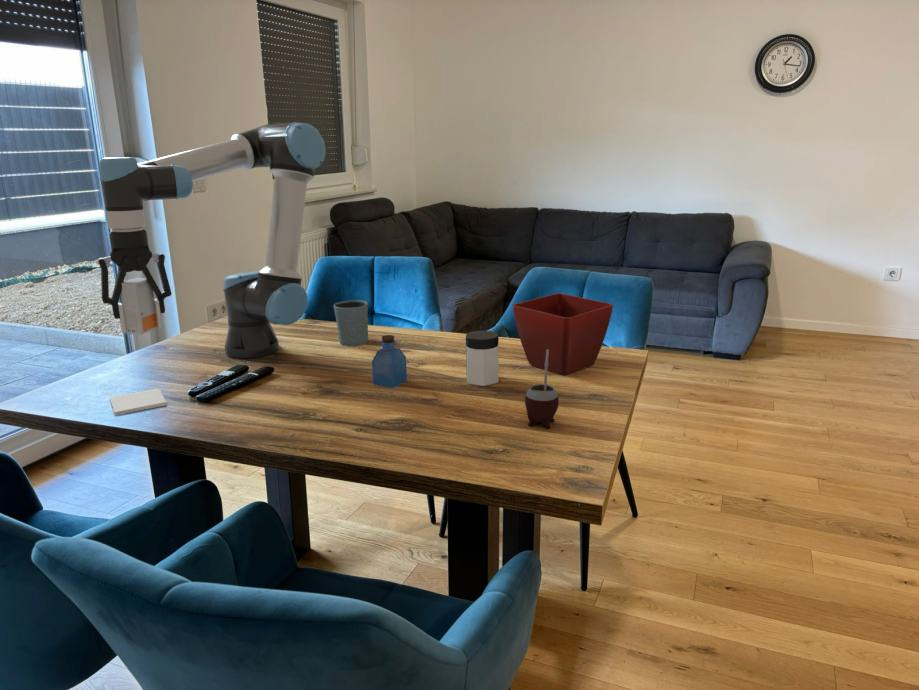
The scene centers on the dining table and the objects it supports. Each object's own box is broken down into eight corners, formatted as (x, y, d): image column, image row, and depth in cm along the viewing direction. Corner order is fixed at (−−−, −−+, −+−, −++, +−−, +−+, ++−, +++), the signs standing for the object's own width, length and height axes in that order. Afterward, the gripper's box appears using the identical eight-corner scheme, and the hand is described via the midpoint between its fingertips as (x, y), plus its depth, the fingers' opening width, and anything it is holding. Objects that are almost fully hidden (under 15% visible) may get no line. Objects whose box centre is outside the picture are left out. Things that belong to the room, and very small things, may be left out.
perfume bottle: (406, 379, 171) (405, 334, 167) (394, 387, 166) (392, 341, 162) (386, 376, 173) (383, 332, 170) (373, 384, 168) (370, 338, 165)
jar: (500, 386, 165) (500, 339, 162) (467, 387, 165) (466, 340, 162) (497, 373, 174) (497, 329, 170) (465, 374, 174) (465, 330, 170)
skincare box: (142, 335, 152) (135, 283, 149) (126, 334, 153) (118, 282, 149) (159, 328, 158) (152, 278, 154) (142, 327, 158) (135, 277, 155)
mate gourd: (535, 432, 139) (536, 364, 135) (517, 419, 146) (517, 353, 142) (565, 426, 142) (568, 359, 137) (546, 413, 149) (548, 348, 144)
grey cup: (367, 347, 199) (364, 307, 195) (333, 347, 199) (330, 308, 195) (372, 337, 208) (369, 299, 205) (339, 337, 208) (336, 300, 205)
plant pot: (565, 382, 167) (567, 317, 162) (510, 365, 181) (510, 304, 176) (611, 365, 179) (615, 304, 174) (557, 350, 193) (558, 292, 188)
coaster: (159, 391, 166) (159, 388, 166) (166, 405, 157) (166, 401, 157) (110, 400, 161) (109, 397, 160) (114, 415, 152) (114, 412, 151)
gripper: (172, 225, 157) (184, 320, 163) (75, 230, 147) (92, 332, 153) (178, 228, 151) (190, 326, 157) (77, 234, 140) (95, 339, 147)
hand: (142, 329), depth 155 cm, fingers closed on skincare box, 7 cm apart
